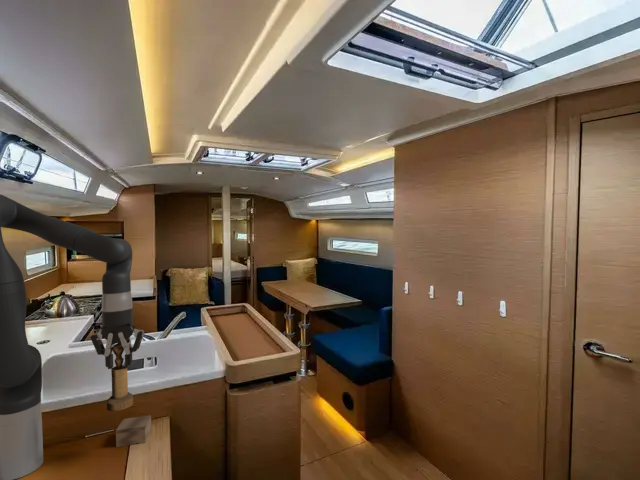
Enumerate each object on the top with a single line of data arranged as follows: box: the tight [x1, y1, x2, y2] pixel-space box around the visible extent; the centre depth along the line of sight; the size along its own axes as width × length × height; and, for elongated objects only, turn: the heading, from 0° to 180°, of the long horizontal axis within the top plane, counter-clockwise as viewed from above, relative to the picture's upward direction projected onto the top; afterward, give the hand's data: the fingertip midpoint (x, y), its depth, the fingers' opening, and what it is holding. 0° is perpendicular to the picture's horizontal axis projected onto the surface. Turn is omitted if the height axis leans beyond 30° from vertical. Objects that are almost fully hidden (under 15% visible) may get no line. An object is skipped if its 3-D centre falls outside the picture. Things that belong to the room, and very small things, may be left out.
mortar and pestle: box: [106, 343, 134, 412], centre depth 96 cm, size 7×6×18 cm
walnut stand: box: [115, 415, 152, 448], centre depth 104 cm, size 8×6×5 cm
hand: (119, 366), depth 96 cm, fingers closed on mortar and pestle, 4 cm apart
